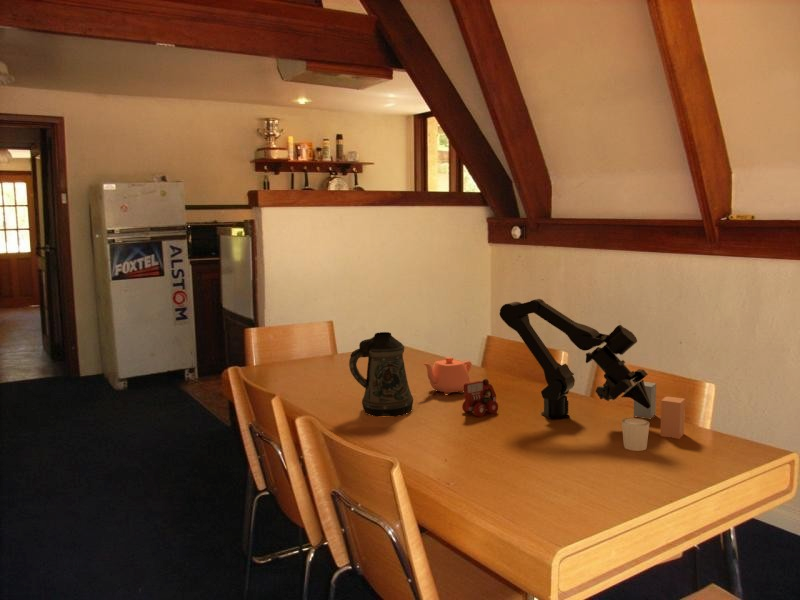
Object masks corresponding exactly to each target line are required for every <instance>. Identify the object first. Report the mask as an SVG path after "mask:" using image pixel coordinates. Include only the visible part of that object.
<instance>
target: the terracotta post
mask: <svg viewBox="0 0 800 600" xmlns="http://www.w3.org/2000/svg"><path fill="white" fill-rule="evenodd" d="M660 402H661V403H660V434H659V435H660V437H665V438H671V437H672V439H678V440H680V439H681V438H682V437H683V436H684V435H685V417H686V416H685V413H686V411H685V410H686V399H685V398H682V397H674V396H665V397H663V398H662V399H661V401H660Z"/></svg>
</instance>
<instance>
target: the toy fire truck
mask: <svg viewBox="0 0 800 600" xmlns="http://www.w3.org/2000/svg"><path fill="white" fill-rule="evenodd" d="M461 407H462V408H461V409H462V411H463V412H464V413H466V414H470V412H471V413H473V414H474V415H475V417H480V418H482V417H483V416H484V415H485V414H486V412H487V413H488V414H493V413H494V414H495V413H497V412H498V410H499V403H498V402H497V394H496V391H495V389H494V387H493V385H492V384H490V381H489V380H488V379H487V378H484V379H482V380H476V381H471V382H470V383H465V384H464V402H462V406H461ZM494 414H493V415H494Z"/></svg>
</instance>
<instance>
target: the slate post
mask: <svg viewBox="0 0 800 600" xmlns="http://www.w3.org/2000/svg"><path fill="white" fill-rule="evenodd" d="M639 382H640V381H639ZM644 385H645V389H646V392H647V395H648V398H649V401H650V404H651V407H650V408H648V409H647V408H646V407H644V406H642V405H641V404H639V403H638V402H636V401H635V400H633V417H634V416H637V417H644V418H652V417H653V416H654V415H655V416H656V412H657V411H656V408H657V407H656V406H657V405H656V402H657V400H656V399H657V383H655V382H648V381H644ZM655 416H654V417H655ZM654 417H653V418H654ZM653 418H652V419H653Z"/></svg>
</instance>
